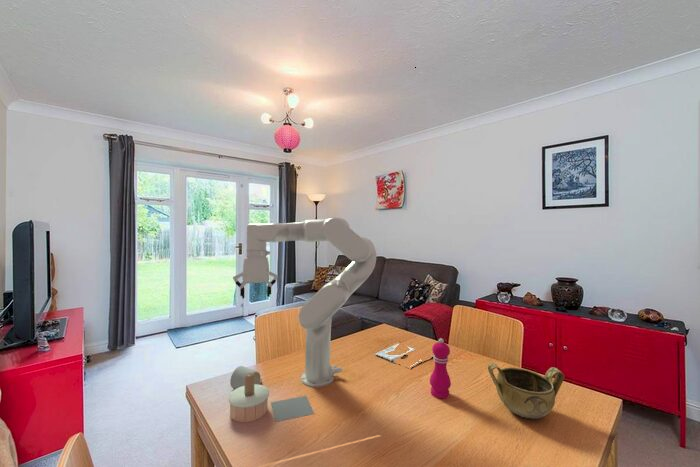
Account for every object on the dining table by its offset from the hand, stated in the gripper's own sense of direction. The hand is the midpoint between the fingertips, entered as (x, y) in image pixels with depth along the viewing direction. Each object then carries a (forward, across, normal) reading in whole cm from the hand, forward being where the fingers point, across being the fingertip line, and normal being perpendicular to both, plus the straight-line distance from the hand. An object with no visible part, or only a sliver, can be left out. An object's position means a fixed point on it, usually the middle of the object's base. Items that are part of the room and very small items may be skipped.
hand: (255, 297), depth 123 cm
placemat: (+30, -9, +30) cm, 44 cm away
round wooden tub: (+30, +4, +27) cm, 41 cm away
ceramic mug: (+31, +3, +11) cm, 33 cm away
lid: (+26, +4, +27) cm, 38 cm away
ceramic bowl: (+31, -79, +57) cm, 102 cm away
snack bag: (+31, -65, +7) cm, 72 cm away
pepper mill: (+31, -60, +39) cm, 78 cm away
